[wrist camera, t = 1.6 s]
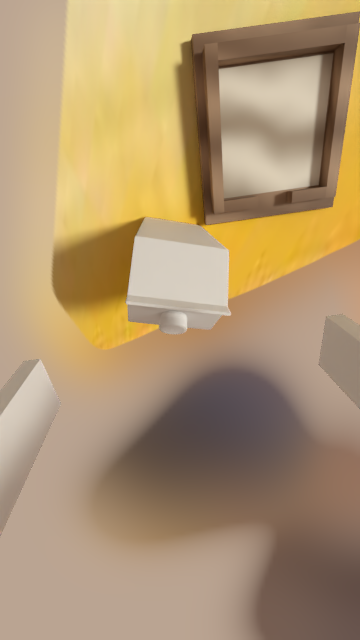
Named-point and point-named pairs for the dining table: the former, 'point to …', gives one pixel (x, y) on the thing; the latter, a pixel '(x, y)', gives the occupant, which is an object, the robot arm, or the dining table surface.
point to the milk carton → (177, 277)
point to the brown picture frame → (272, 114)
